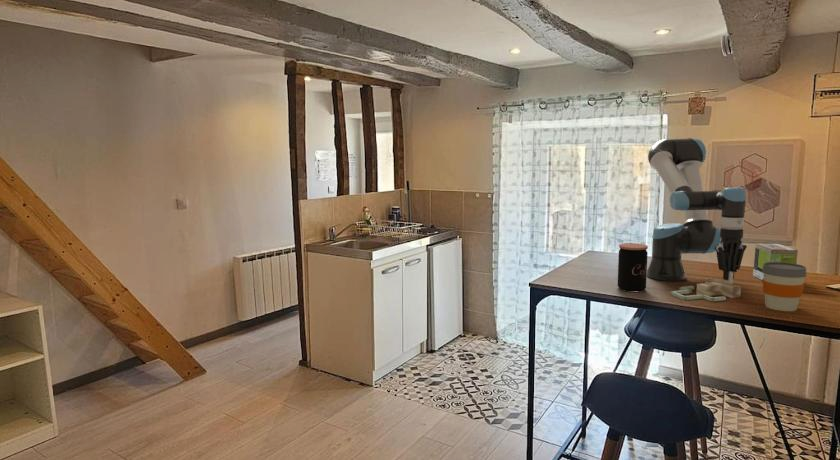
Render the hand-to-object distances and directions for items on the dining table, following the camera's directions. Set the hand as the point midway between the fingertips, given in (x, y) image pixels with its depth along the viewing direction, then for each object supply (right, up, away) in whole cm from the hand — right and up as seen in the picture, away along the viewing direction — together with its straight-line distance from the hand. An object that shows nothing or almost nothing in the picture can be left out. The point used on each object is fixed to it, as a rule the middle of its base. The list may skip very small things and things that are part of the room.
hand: (727, 287), depth 198 cm
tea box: (+29, +1, +17) cm, 34 cm away
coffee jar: (-34, -2, +8) cm, 35 cm away
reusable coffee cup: (+7, -5, -20) cm, 21 cm away
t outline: (-14, -3, -3) cm, 15 cm away
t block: (-6, -2, -1) cm, 7 cm away
